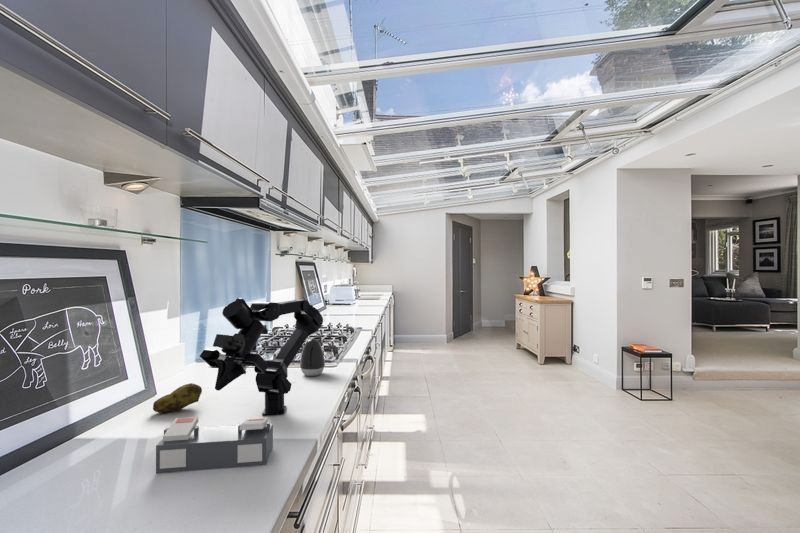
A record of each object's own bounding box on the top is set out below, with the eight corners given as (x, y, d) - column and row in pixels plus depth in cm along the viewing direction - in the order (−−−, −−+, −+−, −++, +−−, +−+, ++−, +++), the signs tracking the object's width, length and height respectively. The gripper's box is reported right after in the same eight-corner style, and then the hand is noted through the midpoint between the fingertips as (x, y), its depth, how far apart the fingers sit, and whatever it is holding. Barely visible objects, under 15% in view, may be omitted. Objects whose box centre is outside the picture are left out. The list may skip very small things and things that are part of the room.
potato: (161, 407, 127) (162, 382, 127) (204, 404, 129) (204, 380, 129) (149, 416, 118) (150, 390, 119) (195, 414, 121) (195, 387, 121)
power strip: (173, 454, 94) (173, 421, 94) (272, 447, 98) (272, 415, 98) (155, 474, 85) (155, 437, 85) (266, 465, 89) (266, 430, 89)
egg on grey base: (330, 373, 167) (330, 337, 167) (312, 379, 158) (312, 341, 158) (312, 370, 172) (312, 335, 173) (294, 375, 164) (294, 339, 164)
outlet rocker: (176, 422, 93) (175, 417, 93) (198, 421, 94) (198, 416, 94) (163, 441, 87) (162, 435, 86) (187, 439, 87) (187, 434, 87)
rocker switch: (246, 424, 96) (246, 419, 96) (267, 423, 96) (268, 418, 97) (239, 430, 89) (239, 424, 89) (262, 428, 90) (262, 422, 90)
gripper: (204, 319, 109) (170, 370, 99) (260, 324, 103) (229, 378, 93) (226, 342, 117) (196, 391, 107) (279, 347, 110) (252, 399, 100)
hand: (216, 389), depth 101 cm, fingers closed
